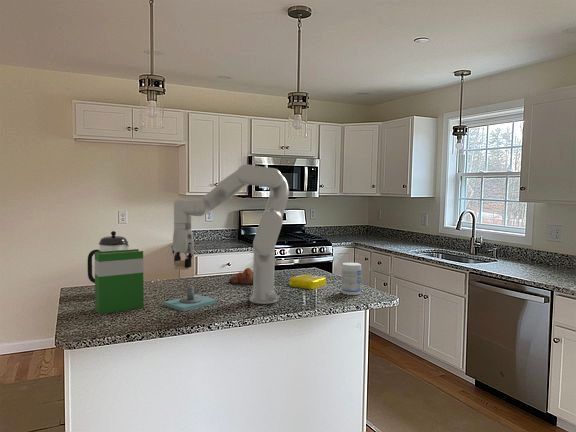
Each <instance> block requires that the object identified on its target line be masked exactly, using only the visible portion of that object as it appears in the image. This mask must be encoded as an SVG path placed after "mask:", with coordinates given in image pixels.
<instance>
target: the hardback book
mask: <svg viewBox="0 0 576 432" xmlns="http://www.w3.org/2000/svg"><path fill="white" fill-rule="evenodd" d="M94 279H95V283H94V303H95V306H94V307H95V308H94V309H95V311H96V312H97V313H98V314H99V315H100V314H106V313H107V314H108V313H114V312H121V311H128V310H135V309H136V310H137V309H142V308H144V306H145V305H144V251H143V250H140V251H139V249H138V248H137V249H135V248H134V249H128V250H117V251H103V252H95V254H94Z"/></svg>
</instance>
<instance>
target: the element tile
mask: <svg viewBox="0 0 576 432" xmlns="http://www.w3.org/2000/svg"><path fill="white" fill-rule="evenodd" d="M326 281H327V278H326V277H325V276H320V275H314V274H306V273H304V274H300V275H296V276H292V277H290V278H289V286H290V287H295V288H301V289H307V290H315V289H318V288H320V287H324V286H326V284H327V282H326Z"/></svg>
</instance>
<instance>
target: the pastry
mask: <svg viewBox="0 0 576 432" xmlns="http://www.w3.org/2000/svg"><path fill="white" fill-rule="evenodd" d="M228 282H229V284H231V283H232V284H234V285H236V284H237V285H238V284H239V285H240V284H241V285H248V286H250V285H253V269H251V268H250V267H246V268H245V269H244V271H240V272H237V273H236V274H234V275H232V276H231V277H230V278H229V279H228Z"/></svg>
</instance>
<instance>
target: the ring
mask: <svg viewBox="0 0 576 432" xmlns="http://www.w3.org/2000/svg"><path fill="white" fill-rule="evenodd" d="M173 262H174V261H173ZM173 265H174V270H177V271H178V270H179V271H181V270H182V271H183V270H190V269H191V268H192V266H191V267H189V268H185V259H184V260H183V259H181V260H180V261H175V262H174V263H173Z"/></svg>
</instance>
